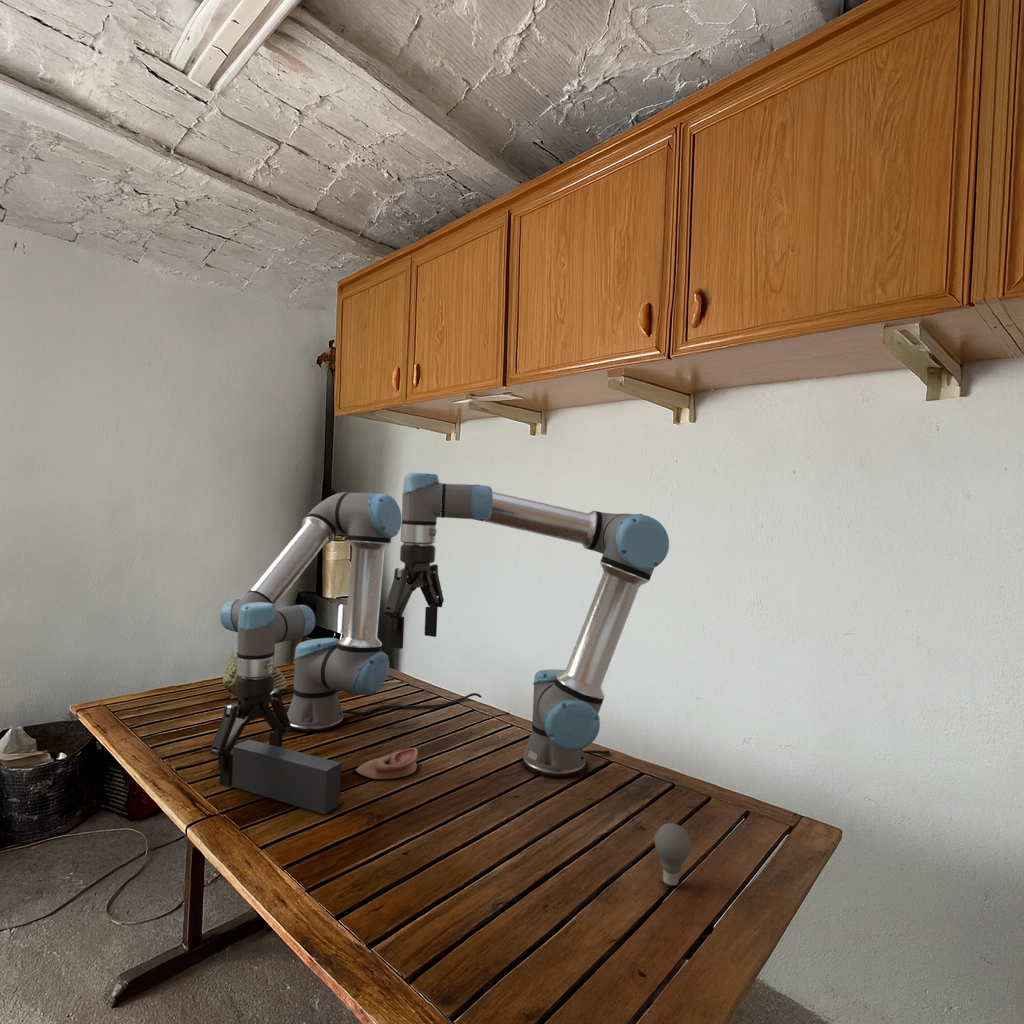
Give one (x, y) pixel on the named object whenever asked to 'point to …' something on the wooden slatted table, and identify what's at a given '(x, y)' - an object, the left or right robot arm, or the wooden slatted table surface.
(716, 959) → the wooden slatted table surface
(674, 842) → the light bulb
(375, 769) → the anatomical model
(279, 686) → the fossil
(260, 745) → the bar
